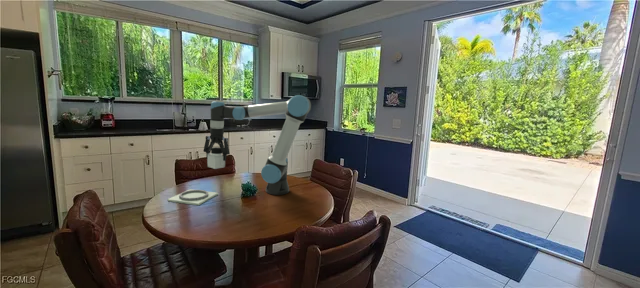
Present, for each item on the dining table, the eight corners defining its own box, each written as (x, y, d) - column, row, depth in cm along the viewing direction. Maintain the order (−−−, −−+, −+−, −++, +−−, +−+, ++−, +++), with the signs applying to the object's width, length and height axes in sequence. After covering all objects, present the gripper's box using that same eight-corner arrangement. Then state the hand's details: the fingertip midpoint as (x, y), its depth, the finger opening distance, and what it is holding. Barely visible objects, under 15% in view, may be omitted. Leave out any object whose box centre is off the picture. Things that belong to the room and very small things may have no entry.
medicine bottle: (224, 167, 165) (225, 148, 163) (214, 169, 159) (215, 149, 157) (217, 165, 169) (218, 146, 167) (207, 166, 163) (207, 147, 161)
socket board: (218, 194, 164) (218, 190, 164) (198, 205, 146) (198, 201, 146) (190, 190, 168) (190, 187, 167) (167, 201, 149) (167, 197, 149)
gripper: (236, 129, 162) (235, 165, 165) (205, 125, 166) (204, 161, 169) (230, 130, 154) (228, 168, 158) (197, 126, 159) (196, 163, 162)
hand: (216, 164), depth 164 cm, fingers closed on medicine bottle, 9 cm apart
